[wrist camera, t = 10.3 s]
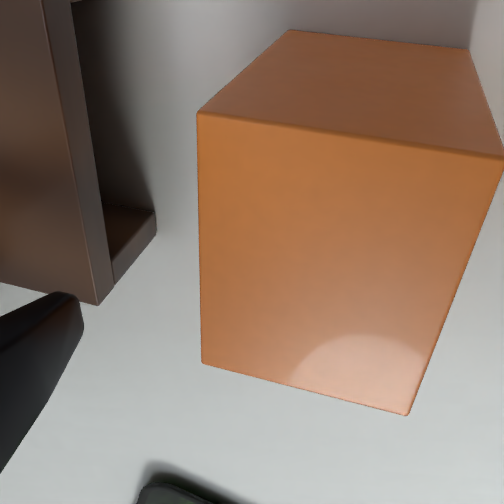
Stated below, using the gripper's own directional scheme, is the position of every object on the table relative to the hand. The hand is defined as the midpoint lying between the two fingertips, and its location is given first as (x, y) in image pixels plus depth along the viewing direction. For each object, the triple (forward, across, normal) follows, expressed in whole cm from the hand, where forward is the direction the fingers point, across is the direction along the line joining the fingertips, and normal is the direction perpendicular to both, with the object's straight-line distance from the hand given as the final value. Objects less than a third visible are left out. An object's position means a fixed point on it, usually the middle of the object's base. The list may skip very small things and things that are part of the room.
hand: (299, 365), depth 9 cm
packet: (+10, 0, 0) cm, 10 cm away
